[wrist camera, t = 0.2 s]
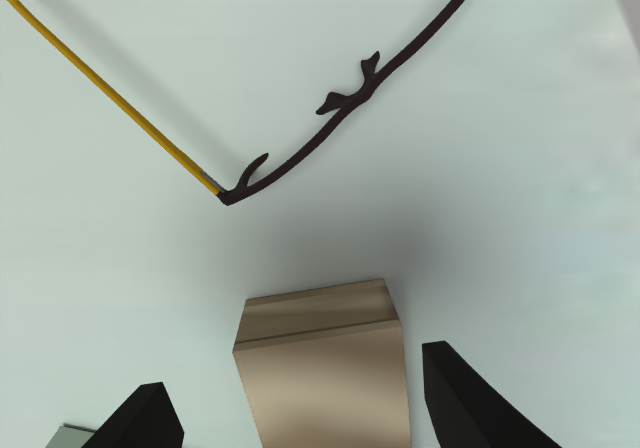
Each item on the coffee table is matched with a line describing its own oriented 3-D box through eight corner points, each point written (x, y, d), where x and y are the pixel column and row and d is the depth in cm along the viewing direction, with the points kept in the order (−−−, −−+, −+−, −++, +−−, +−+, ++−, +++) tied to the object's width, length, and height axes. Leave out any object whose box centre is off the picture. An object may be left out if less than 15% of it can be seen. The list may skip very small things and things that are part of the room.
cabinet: (401, 461, 26) (418, 527, 22) (295, 476, 26) (294, 544, 23) (383, 278, 20) (401, 326, 16) (246, 299, 20) (232, 351, 16)
